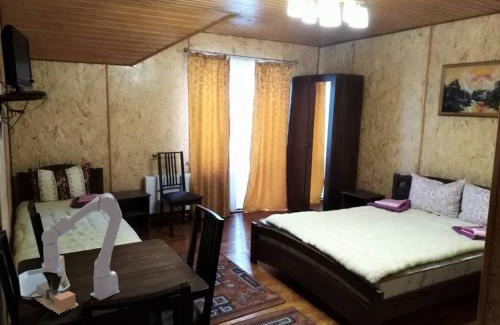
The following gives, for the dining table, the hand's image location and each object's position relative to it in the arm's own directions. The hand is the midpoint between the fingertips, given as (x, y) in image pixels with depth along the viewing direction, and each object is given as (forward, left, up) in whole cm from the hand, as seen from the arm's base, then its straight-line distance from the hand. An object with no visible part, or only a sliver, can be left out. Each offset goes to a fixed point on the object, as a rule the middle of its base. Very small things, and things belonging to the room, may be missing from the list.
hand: (54, 288), depth 157 cm
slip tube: (0, -3, -4) cm, 5 cm away
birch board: (0, 0, -6) cm, 6 cm away
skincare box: (-10, -18, -6) cm, 22 cm away
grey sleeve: (0, -7, -6) cm, 9 cm away
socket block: (0, +9, -6) cm, 11 cm away
